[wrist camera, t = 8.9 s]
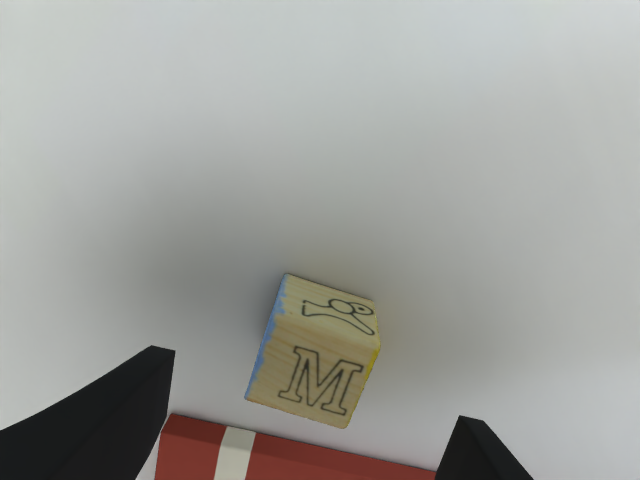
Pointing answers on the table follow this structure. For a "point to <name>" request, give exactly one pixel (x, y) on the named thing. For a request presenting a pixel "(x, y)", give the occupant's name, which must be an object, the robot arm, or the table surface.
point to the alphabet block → (315, 352)
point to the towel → (261, 457)
